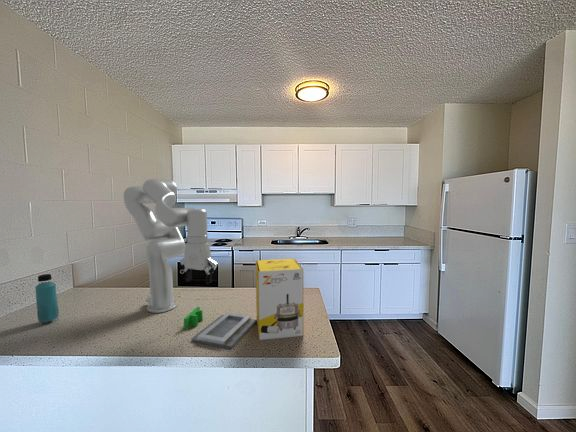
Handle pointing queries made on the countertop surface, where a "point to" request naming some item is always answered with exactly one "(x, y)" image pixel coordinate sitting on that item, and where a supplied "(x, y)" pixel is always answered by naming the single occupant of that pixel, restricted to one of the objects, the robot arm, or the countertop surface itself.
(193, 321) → the pipe clamp
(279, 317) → the packaging box
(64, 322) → the countertop surface
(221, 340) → the groove block
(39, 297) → the beverage bottle
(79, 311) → the countertop surface
